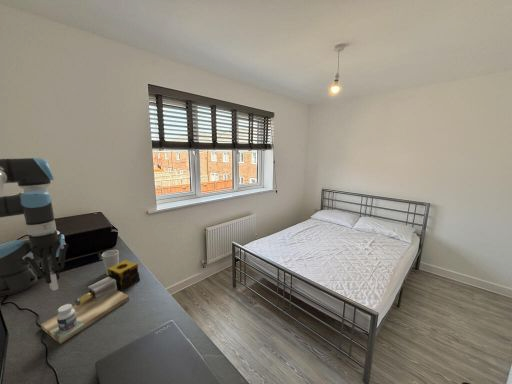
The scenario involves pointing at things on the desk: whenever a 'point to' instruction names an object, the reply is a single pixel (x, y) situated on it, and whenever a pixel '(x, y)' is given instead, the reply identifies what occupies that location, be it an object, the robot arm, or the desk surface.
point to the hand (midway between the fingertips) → (54, 288)
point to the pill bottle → (66, 318)
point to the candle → (124, 274)
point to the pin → (84, 298)
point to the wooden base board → (89, 309)
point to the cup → (110, 259)
